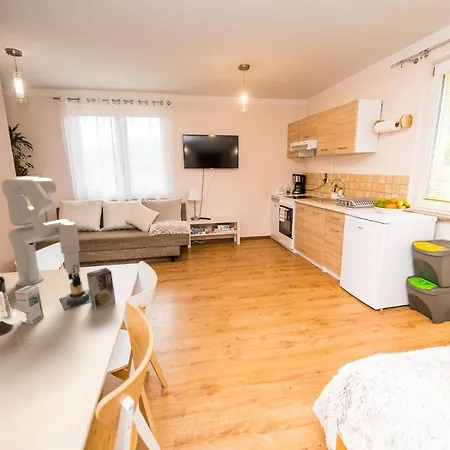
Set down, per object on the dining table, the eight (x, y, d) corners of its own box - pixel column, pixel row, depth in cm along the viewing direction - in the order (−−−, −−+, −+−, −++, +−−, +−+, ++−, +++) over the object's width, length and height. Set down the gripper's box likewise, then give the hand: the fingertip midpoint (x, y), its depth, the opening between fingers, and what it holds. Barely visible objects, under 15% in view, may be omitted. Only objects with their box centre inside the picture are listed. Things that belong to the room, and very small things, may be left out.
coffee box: (110, 298, 132) (106, 267, 129) (115, 302, 128) (112, 270, 124) (90, 305, 126) (86, 272, 123) (95, 310, 122) (91, 276, 118)
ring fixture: (59, 298, 133) (58, 293, 132) (90, 290, 141) (89, 285, 141) (64, 310, 122) (63, 304, 122) (97, 300, 131) (96, 294, 130)
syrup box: (32, 324, 112) (26, 292, 108) (20, 323, 113) (14, 291, 110) (44, 316, 117) (38, 285, 114) (32, 315, 118) (26, 285, 115)
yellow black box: (71, 298, 132) (69, 282, 130) (82, 295, 135) (80, 279, 133) (73, 302, 128) (71, 285, 127) (84, 299, 132) (82, 282, 130)
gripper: (57, 245, 130) (62, 278, 134) (64, 255, 118) (69, 291, 122) (75, 242, 135) (79, 274, 139) (83, 251, 122) (87, 286, 126)
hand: (74, 282), depth 130 cm, fingers open, 9 cm apart
